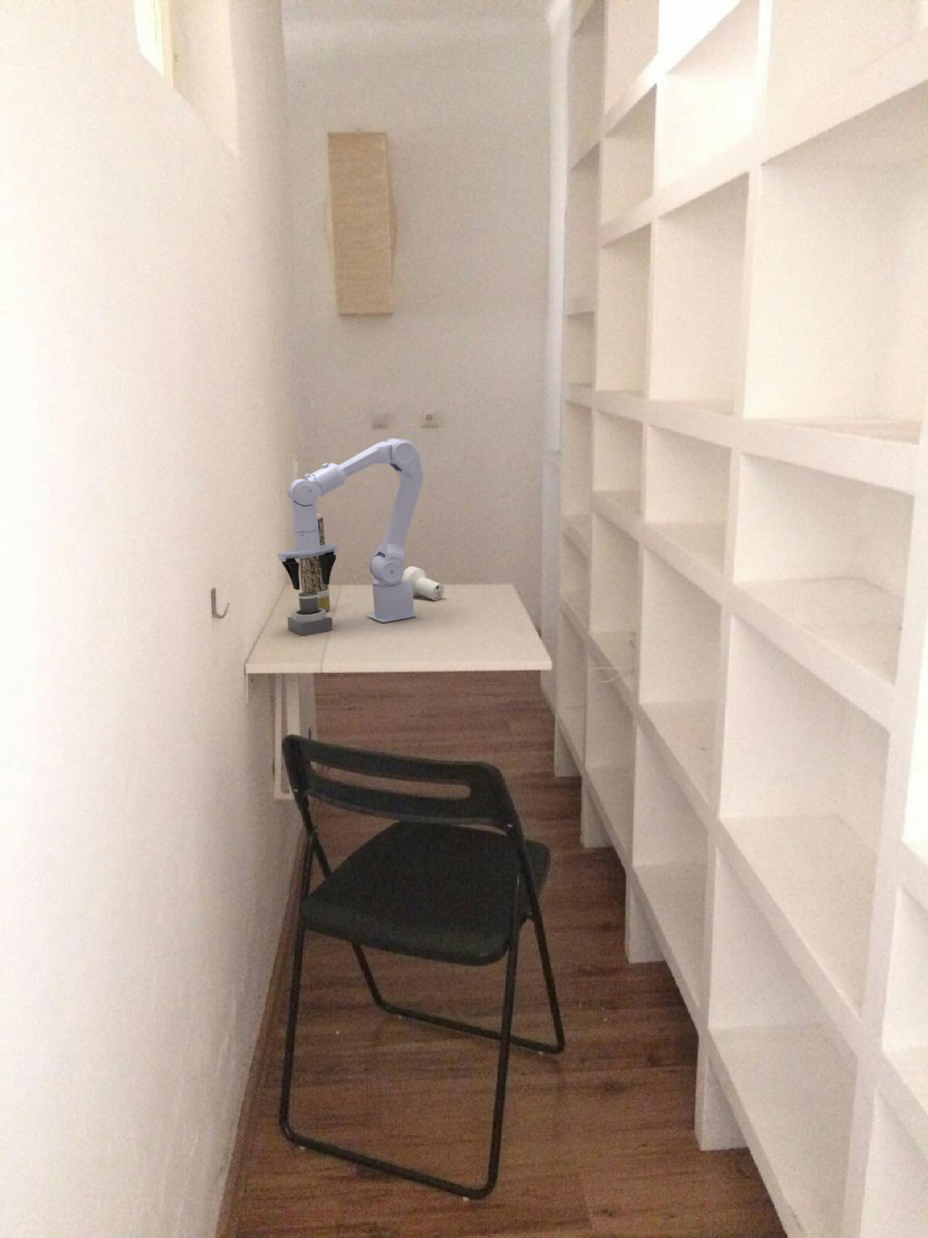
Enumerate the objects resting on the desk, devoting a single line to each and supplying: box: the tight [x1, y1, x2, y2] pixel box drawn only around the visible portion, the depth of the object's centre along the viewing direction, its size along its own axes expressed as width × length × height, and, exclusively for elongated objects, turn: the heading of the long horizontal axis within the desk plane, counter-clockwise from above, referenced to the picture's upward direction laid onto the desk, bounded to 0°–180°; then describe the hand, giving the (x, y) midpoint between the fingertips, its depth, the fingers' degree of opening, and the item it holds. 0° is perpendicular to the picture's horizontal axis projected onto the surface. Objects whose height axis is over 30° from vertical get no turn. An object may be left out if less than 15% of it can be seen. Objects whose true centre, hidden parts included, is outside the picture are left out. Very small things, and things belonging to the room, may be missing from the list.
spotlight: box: [402, 565, 445, 602], centre depth 260 cm, size 8×11×8 cm
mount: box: [286, 608, 334, 637], centre depth 233 cm, size 8×8×4 cm
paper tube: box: [299, 512, 331, 612], centre depth 248 cm, size 7×7×25 cm
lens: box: [298, 591, 319, 615], centre depth 232 cm, size 4×4×6 cm
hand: (311, 586), depth 232 cm, fingers open, 7 cm apart
